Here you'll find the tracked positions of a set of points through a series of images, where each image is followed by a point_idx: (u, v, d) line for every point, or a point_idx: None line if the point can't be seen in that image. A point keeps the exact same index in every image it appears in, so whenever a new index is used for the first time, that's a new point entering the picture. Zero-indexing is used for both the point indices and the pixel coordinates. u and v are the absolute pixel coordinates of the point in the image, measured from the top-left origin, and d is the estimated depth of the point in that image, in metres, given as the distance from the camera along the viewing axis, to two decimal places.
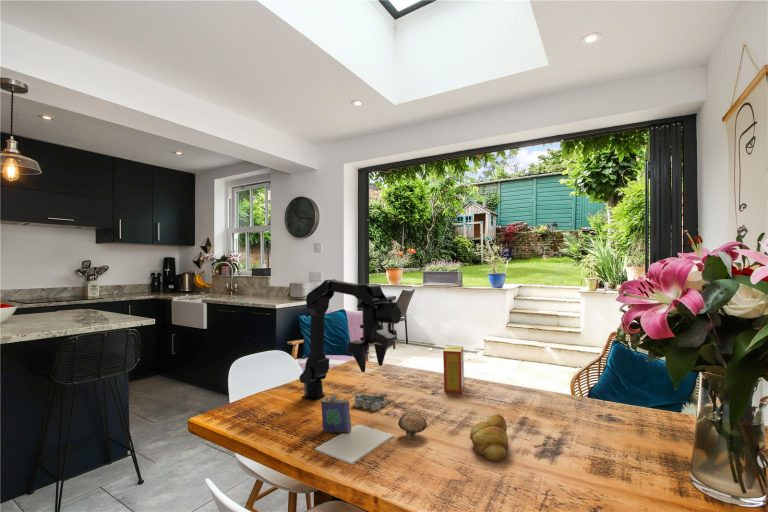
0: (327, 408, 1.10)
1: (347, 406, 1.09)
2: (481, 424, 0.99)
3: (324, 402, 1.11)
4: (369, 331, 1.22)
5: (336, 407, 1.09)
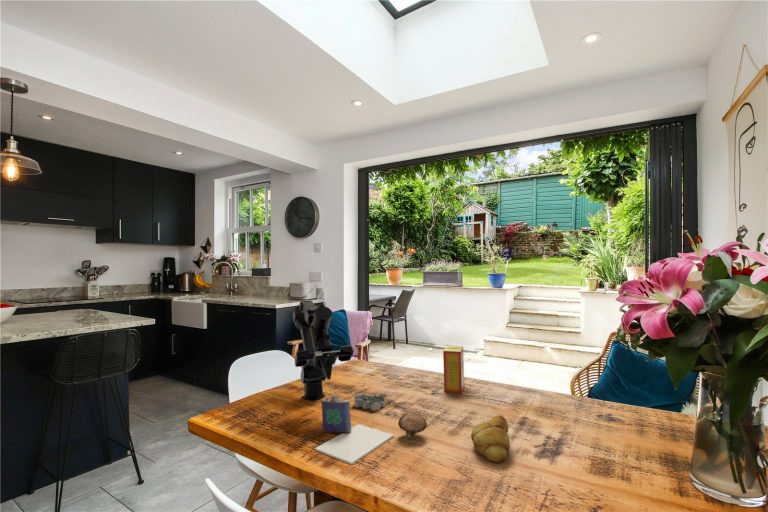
0: (327, 408, 1.10)
1: (347, 406, 1.09)
2: (482, 425, 0.99)
3: (325, 402, 1.11)
4: None
5: (336, 407, 1.09)
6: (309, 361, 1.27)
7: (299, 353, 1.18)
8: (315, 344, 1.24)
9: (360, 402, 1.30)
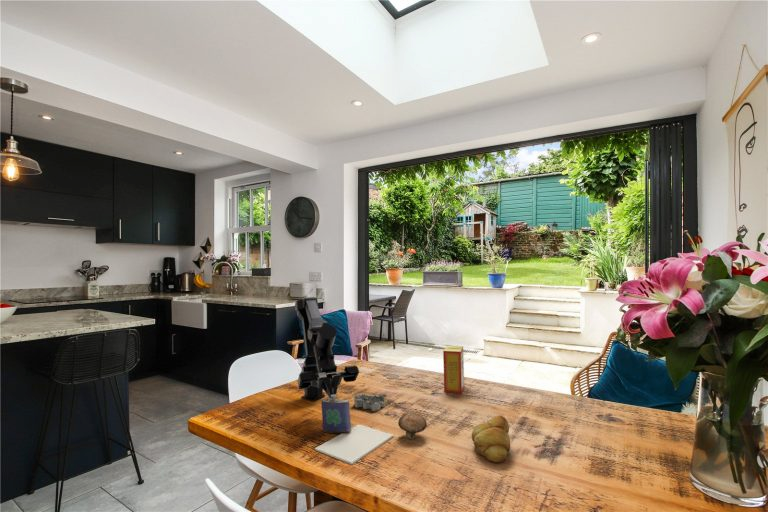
0: (327, 408, 1.10)
1: (347, 406, 1.09)
2: (483, 425, 0.99)
3: (324, 402, 1.11)
4: None
5: (336, 407, 1.09)
6: (313, 382, 1.22)
7: (302, 375, 1.13)
8: (319, 365, 1.19)
9: (360, 402, 1.30)
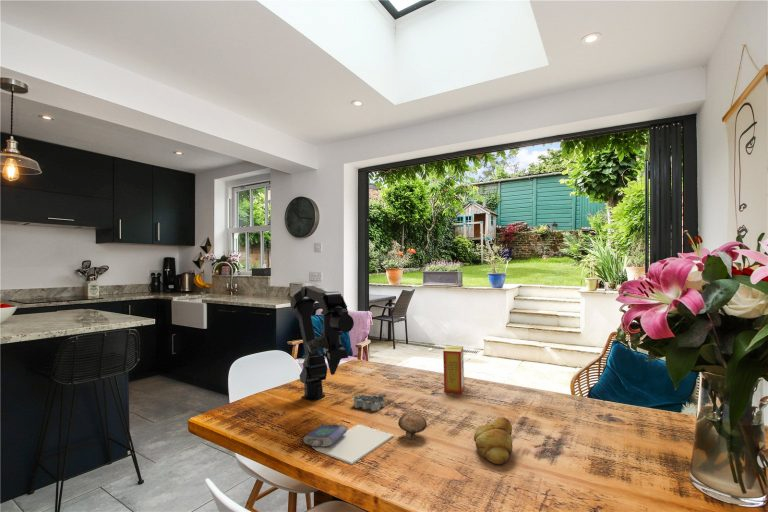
0: None
1: (334, 441, 1.00)
2: (485, 426, 0.98)
3: (309, 444, 1.02)
4: None
5: None
6: (319, 348, 1.23)
7: None
8: (337, 339, 1.26)
9: (360, 402, 1.30)
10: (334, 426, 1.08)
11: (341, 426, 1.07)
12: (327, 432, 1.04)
